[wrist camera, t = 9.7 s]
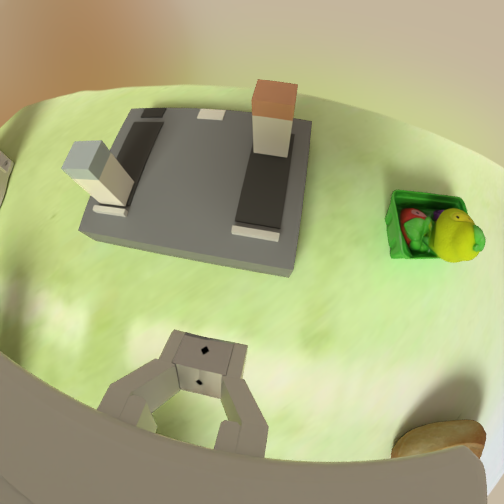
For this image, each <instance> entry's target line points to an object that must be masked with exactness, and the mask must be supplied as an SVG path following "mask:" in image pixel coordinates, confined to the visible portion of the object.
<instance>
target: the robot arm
mask: <svg viewBox="0 0 504 504" xmlns="http://www.w3.org/2000/svg"><path fill="white" fill-rule="evenodd" d="M13 165H14V162H13V161H12V160H10V159H9V158H8V157H7V156H6V155H5V154H4V153H3V152H2V151H0V205H1V203H2V200H3V198H4V195H5V191H6V187H7V182H8V178H9V175H10V173H11V171H12V168H13ZM247 348H248V345H244V344H239V343H235V342H229V341H224V340H218V339H213V338H207V337H202V336H198V335H194V334H191V333H187V332H183V331H179V330H175V329H174V330H173V332H172V333H171V335H170V337H169V339H168V341H167V343H166V345H165V347H164V349H163V351H162V353H161V355H160V357H159V359H154V360H152V361H150V362H149V363H147V364H145V365H143V366H142V367H140V368H138V369H137V370H135V371H133V372H131V373H130V374H128V375H126V376H124V377H123V378H121V379H119V380H117V381H116V382H114V383H112V384H110V386H109V388H108V390H107V392H106V393H105V395H104V397H103V399H102V401H101V403H100V405H99V407H98V408H97V410H96V409H94V408H92V407H90V406H88V405H86V404H84V403H82V402H80V401H78V400H76V399H74V398H72V397H70V396H68V395H67V394H65V393H63V392H61V391H59V390H58V389H56V388H54V387H53V386H51V385H49V384H48V383H46V382H44V381H43V380H41V379H40V378H38V377H36V376H35V375H33V374H32V373H30V372H29V371H27V370H26V369H24V368H23V367H21V366H20V365H19V364H17V363H16V362H14V361H13V360H12V359H10V358H9V357H8V356H6V355H5V354H4V353H2V352H1V351H0V504H487V485H486V474H485V469H484V465H483V463H482V462H481V460H480V459H479V458H478V457H477V456H476V455H475V454H474V453H473V452H472V451H471V450H470V449H469V448H468V447H466V446H464V445H459V446H454V447H451V448H447V449H442V450H438V451H433V452H428V453H423V454H418V455H412V456H405V457H398V458H390V459H381V460H369V461H352V462H310V461H292V460H280V459H270V458H264V456H265V449H266V442H267V435H268V427H269V426H268V425H267V423H266V421H265V419H264V417H263V415H262V413H261V411H260V409H259V407H258V405H257V403H256V402H255V400H254V398H253V396H252V394H251V392H250V390H249V388H248V386H247V384H246V382H245V380H244V379H242V378H243V373H244V367H245V361H246V355H247ZM180 389H181V390H186V391H190V392H194V393H199V394H203V395H207V396H211V397H215V398H219V399H221V402H222V405H223V408H224V410H225V413H226V415H227V418H228V421H227V420H224V421H223V422H221V425H220V428H219V432H218V436H217V439H216V443H215V447H214V449H211V448H206V447H202V446H198V445H194V444H190V443H186V442H183V441H179V440H176V439H172V438H169V437H166V436H163V435H159V434H156V433H155V432H156V430H157V425H156V423H155V420H154V418H153V416H152V414H151V413H152V412H153V411H155V410H156V409H157V408H159V407H160V406H161V405H162V404H164V403H165V402H166V401H167V400H169V399H170V398H171V397H172V396H174V395H175V394H176V393H177V392H179V391H180Z"/></svg>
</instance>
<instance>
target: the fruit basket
mask: <svg viewBox="0 0 504 504" xmlns="http://www.w3.org/2000/svg"><path fill="white" fill-rule="evenodd" d="M385 221H386V224H387V225H388V226H387V234H388V242H389V246H390V248H391V250H390V256H391V258H393V259H398V258H405V259H433V258H441V259H443V260H445V261H447V262H453V263H454V262H460V261H469V260H472V259H474V258H475V257H476V256H477V255H478V254H479V252H480V251H482V250H483V248H484V246H485V236H484V234H483V231H482V230H481V229H480V228H479V227H478V226H476V225H475V224H474V222H473V220H472V219H471V218H470V216H469V215H468V213H467V209H466V206H465V203H464V201H463V200H462V199H461V198H460V197H455V196H448V195H439V194H431V193H423V192H414V191H405V190H395V191H393V193H392V197H391V203H390V206H389V209H388V212H387V215H386V218H385Z"/></svg>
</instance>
